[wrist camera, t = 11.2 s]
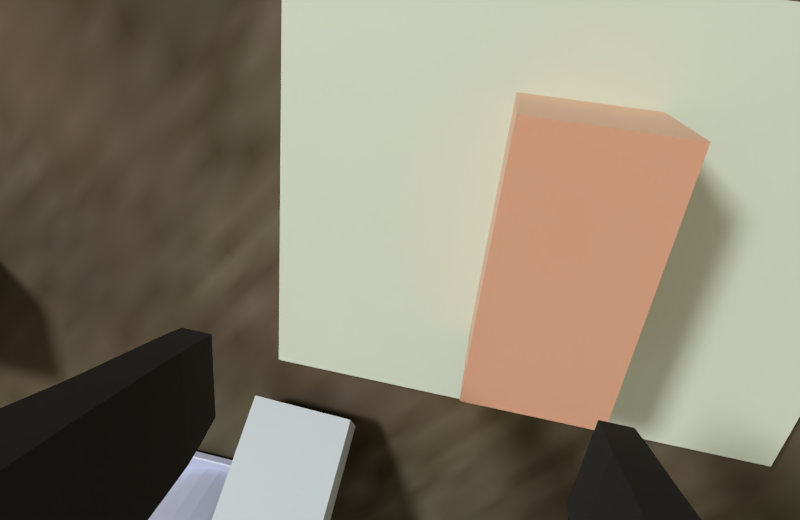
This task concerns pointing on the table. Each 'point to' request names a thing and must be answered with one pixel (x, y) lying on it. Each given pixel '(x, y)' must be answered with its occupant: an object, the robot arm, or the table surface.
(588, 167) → the terracotta brick
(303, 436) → the grey-blue slab
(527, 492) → the table surface
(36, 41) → the table surface
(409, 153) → the board
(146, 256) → the table surface
